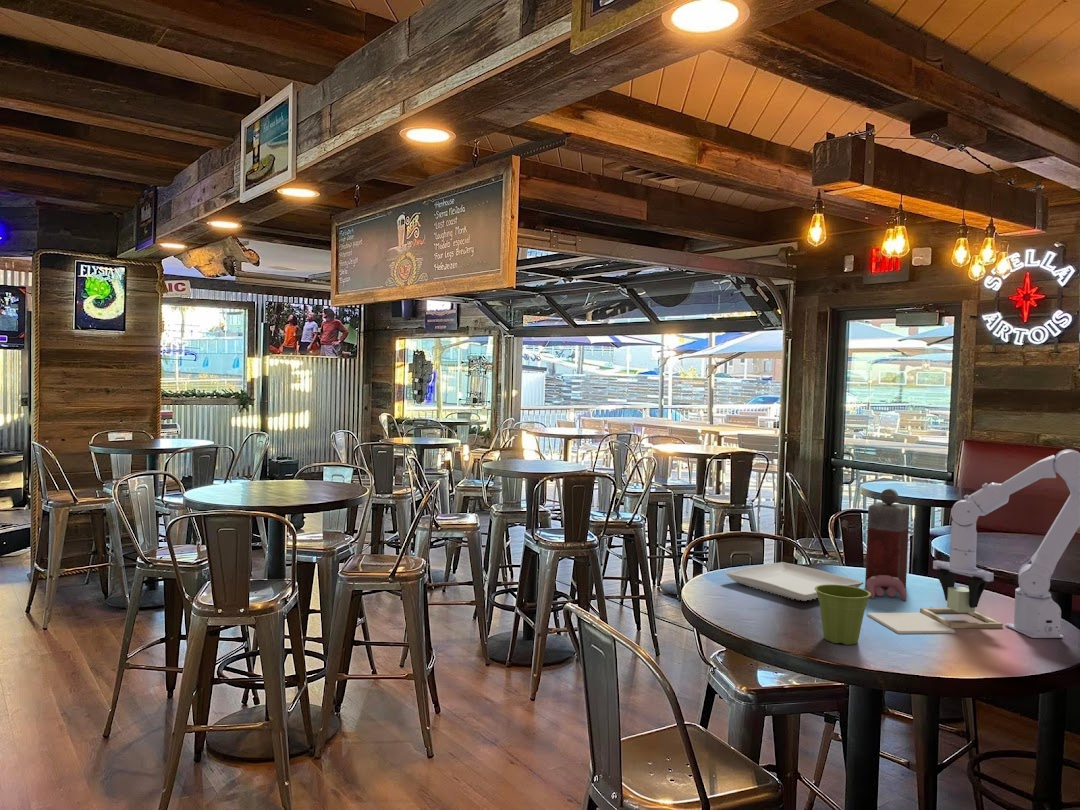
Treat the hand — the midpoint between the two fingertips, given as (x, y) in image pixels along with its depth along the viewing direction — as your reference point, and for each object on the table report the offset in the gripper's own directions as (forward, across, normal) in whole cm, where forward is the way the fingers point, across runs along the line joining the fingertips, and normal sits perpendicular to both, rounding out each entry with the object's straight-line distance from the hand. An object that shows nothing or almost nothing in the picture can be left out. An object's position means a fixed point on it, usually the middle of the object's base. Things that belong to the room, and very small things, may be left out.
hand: (961, 603), depth 196 cm
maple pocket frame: (+4, 0, 0) cm, 4 cm away
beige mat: (+4, +3, +15) cm, 16 cm away
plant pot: (+4, +2, +40) cm, 41 cm away
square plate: (+4, +40, +16) cm, 43 cm away
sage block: (+1, 0, 0) cm, 1 cm away
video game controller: (+4, +22, 0) cm, 22 cm away
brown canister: (+4, +30, -12) cm, 32 cm away
